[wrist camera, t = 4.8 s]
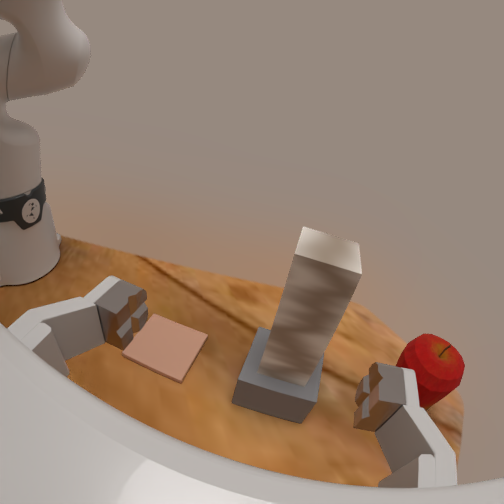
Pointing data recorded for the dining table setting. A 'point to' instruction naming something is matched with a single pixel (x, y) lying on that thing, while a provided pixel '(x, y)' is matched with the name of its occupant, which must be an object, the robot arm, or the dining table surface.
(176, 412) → the dining table surface
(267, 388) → the charcoal plinth
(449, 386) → the apple
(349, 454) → the dining table surface
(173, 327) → the terracotta tile
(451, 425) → the dining table surface
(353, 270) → the cream block
